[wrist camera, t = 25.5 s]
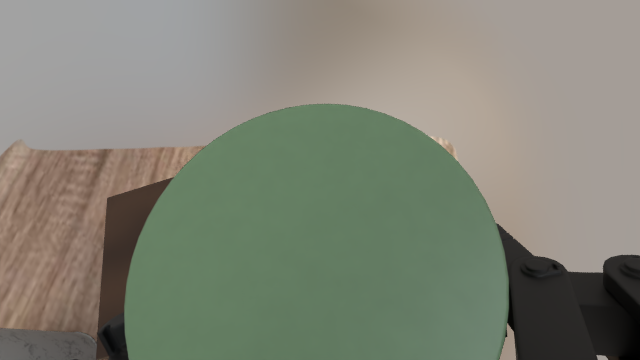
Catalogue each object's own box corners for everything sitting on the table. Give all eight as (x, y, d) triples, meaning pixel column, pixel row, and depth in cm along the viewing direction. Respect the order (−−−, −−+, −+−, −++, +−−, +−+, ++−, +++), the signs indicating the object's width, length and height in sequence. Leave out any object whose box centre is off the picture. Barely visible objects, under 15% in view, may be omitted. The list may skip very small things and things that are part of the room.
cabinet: (281, 323, 37) (248, 315, 28) (162, 358, 37) (95, 360, 29) (259, 196, 44) (228, 159, 36) (161, 227, 45) (107, 197, 36)
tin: (400, 221, 19) (414, 64, 9) (461, 378, 16) (614, 436, 5) (267, 260, 20) (128, 155, 9) (295, 424, 16) (111, 566, 5)
